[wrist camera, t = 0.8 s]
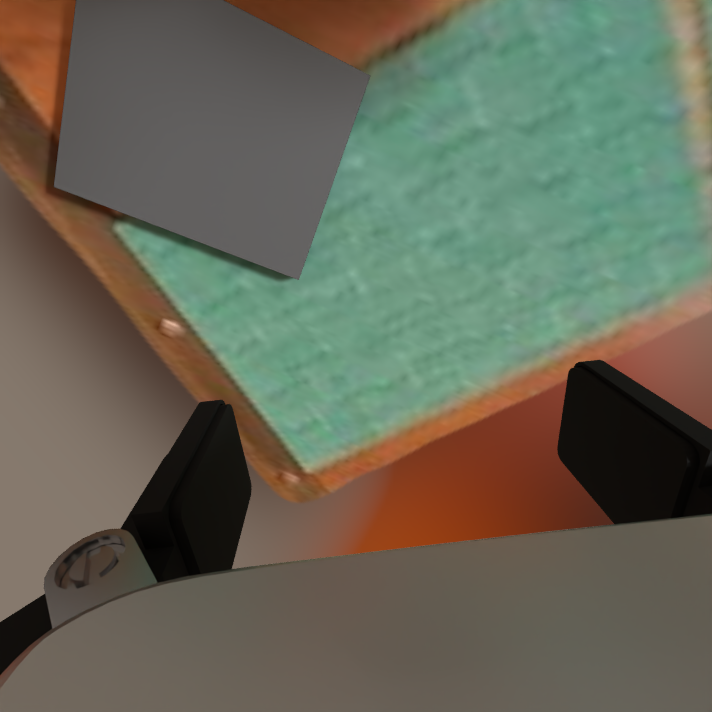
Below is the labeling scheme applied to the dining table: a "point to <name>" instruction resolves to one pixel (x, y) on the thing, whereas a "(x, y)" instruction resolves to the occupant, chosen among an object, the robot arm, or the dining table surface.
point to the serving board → (205, 124)
